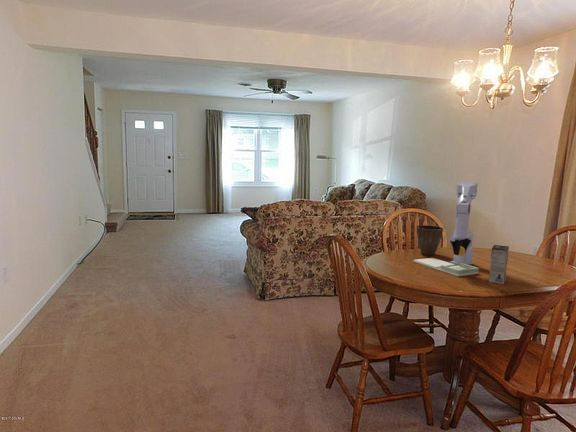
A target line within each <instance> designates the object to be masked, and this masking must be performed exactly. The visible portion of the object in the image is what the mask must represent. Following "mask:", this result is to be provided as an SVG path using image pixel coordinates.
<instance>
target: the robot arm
mask: <svg viewBox="0 0 576 432" xmlns="http://www.w3.org/2000/svg"><path fill="white" fill-rule="evenodd" d="M477 193H478V183H477V182H476V181H475V182H472V181H471V182H470V181H469V182H467V181H466V182H465V181H464V182H463V181H458V182H457V185H456V196H457V198H458V201H457V203H456V206H455V228H454V229H455V230H454V231H453V235H452V236H450V239H449V243H450V244H451V247H452V250H453V251H452V252H453V260H450V261H449V263H452V264H455V265H458V266H460V263H463V264H467V265H474V263H475V262H473V261H474V259H473V257H474V250H473V248H472V247H473V242H474V241H473V237H474V236H473V233H472V231H471V230H469V223H470V222H469V221H470V215H471V211H472V210H471V209H472V204H471V203H472V200H475V199H476V198H477ZM461 246H462V247H463V248H464V249H465V254H464V255H463V256H457V255H459V251H460V247H461Z"/></svg>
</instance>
